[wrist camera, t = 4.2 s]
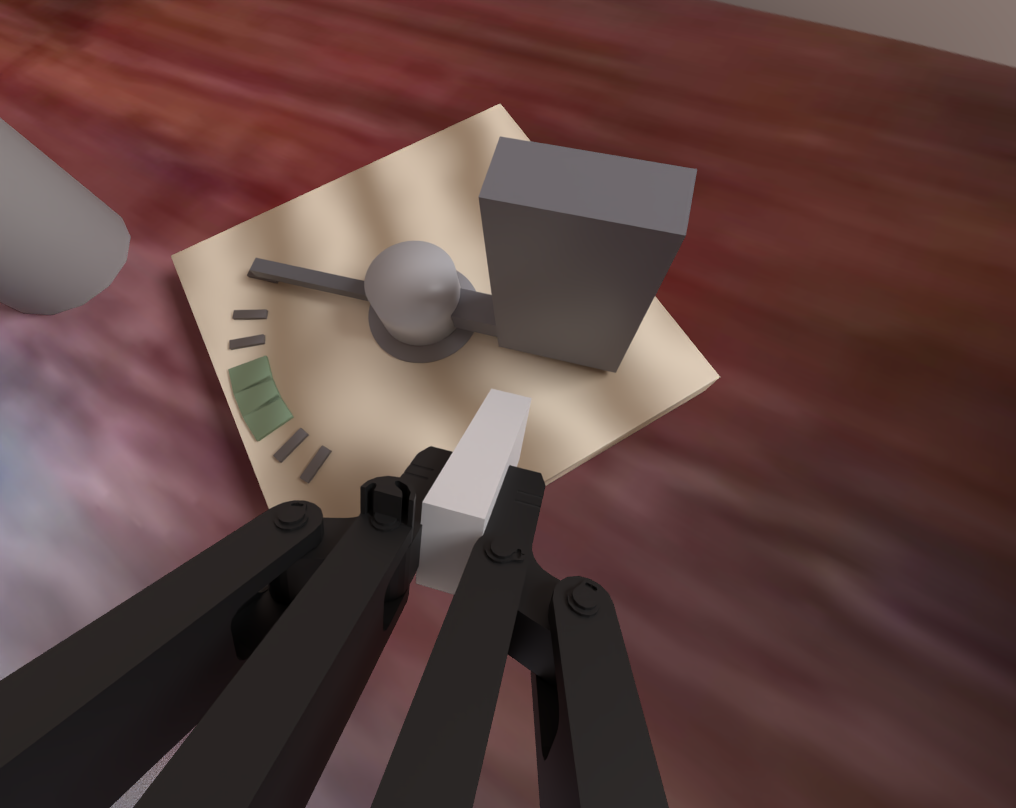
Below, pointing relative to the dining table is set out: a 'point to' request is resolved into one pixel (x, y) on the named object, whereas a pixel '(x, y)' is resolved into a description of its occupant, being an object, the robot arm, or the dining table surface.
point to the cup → (52, 233)
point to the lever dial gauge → (537, 257)
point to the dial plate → (387, 361)
